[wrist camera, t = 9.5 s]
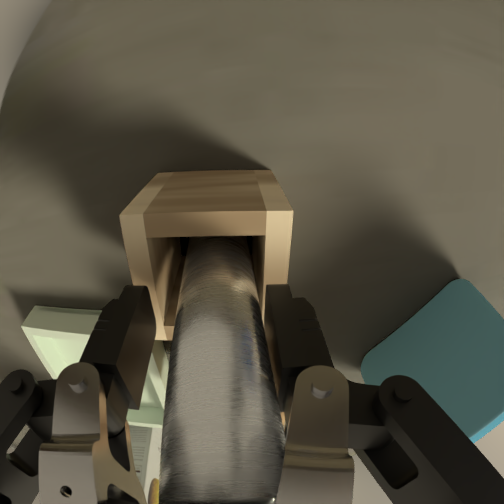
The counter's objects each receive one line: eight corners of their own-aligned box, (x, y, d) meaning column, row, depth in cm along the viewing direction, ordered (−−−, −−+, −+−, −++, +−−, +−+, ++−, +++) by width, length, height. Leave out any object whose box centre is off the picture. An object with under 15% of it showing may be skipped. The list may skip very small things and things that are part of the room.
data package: (377, 374, 25) (417, 477, 15) (354, 360, 23) (398, 480, 13) (470, 295, 21) (540, 386, 11) (459, 270, 19) (544, 372, 9)
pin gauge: (191, 200, 15) (140, 494, 3) (243, 198, 16) (309, 489, 3) (194, 246, 17) (174, 516, 5) (243, 244, 17) (288, 511, 5)
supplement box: (191, 446, 31) (190, 560, 16) (133, 446, 31) (122, 548, 17) (153, 412, 26) (139, 557, 11) (91, 414, 27) (66, 534, 12)
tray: (34, 305, 18) (20, 326, 16) (155, 312, 19) (147, 338, 17) (86, 397, 25) (81, 416, 22) (182, 407, 25) (181, 429, 23)
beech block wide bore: (157, 172, 15) (119, 215, 9) (271, 170, 15) (293, 210, 10) (169, 269, 17) (148, 339, 12) (266, 267, 18) (280, 338, 13)
